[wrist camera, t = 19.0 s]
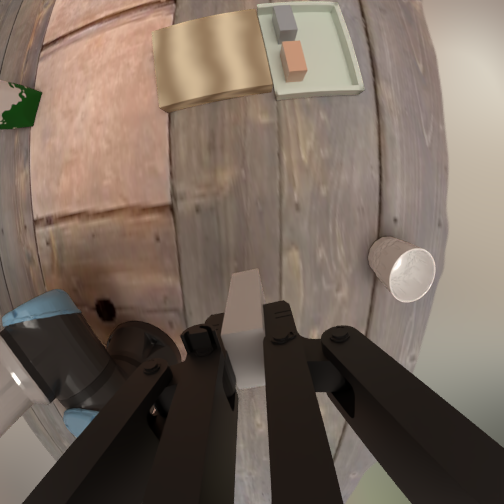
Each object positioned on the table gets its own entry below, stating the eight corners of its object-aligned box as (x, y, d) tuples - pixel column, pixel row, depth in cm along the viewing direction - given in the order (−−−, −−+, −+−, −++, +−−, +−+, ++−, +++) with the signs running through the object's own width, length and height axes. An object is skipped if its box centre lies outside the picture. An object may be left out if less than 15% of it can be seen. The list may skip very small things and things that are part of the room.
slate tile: (280, 30, 29) (297, 29, 29) (273, 5, 28) (290, 4, 28) (278, 44, 34) (294, 43, 34) (271, 21, 33) (287, 20, 32)
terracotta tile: (289, 71, 31) (307, 70, 31) (282, 41, 30) (300, 40, 29) (285, 82, 36) (302, 81, 36) (279, 55, 34) (295, 53, 34)
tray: (276, 100, 37) (277, 95, 34) (257, 13, 33) (256, 4, 30) (357, 95, 36) (364, 90, 33) (333, 11, 32) (337, 2, 29)
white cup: (370, 228, 42) (398, 244, 32) (409, 236, 42) (441, 252, 33) (359, 274, 44) (382, 300, 35) (398, 280, 44) (425, 304, 35)
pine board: (167, 113, 38) (159, 107, 34) (159, 41, 34) (151, 31, 30) (271, 92, 37) (272, 84, 33) (255, 20, 33) (255, 8, 29)
